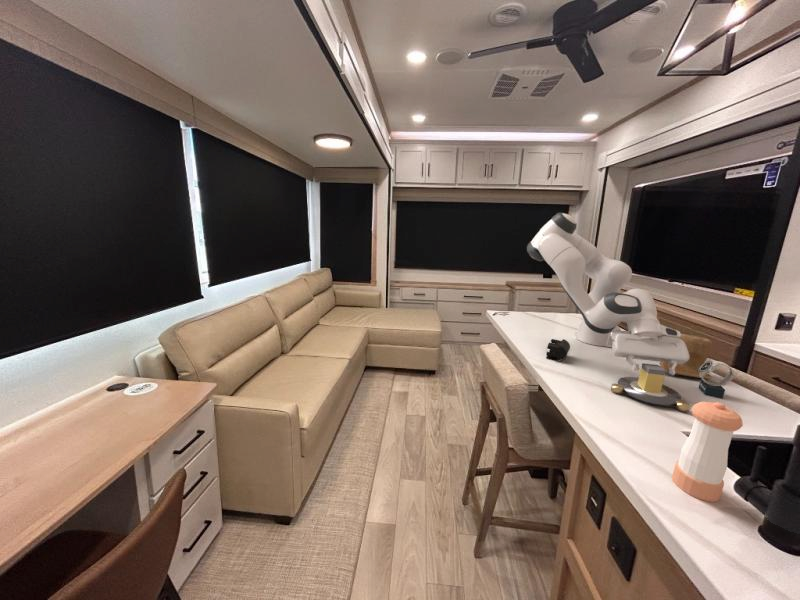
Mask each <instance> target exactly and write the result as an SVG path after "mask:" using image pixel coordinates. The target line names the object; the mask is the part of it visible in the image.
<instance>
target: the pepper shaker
mask: <svg viewBox="0 0 800 600" xmlns="http://www.w3.org/2000/svg"><path fill="white" fill-rule="evenodd" d="M691 413H692V415H693V417H694V421H693V424H692V428H691V431H690V434H689V435H688V437H687V439H686V440H685V442H684V443H683V446H682V448H681V451H680V456H679V459H678V460H677V461H676V462H675V464H674V468H673V472H672V476H671V480H672V482H673V483H674V484H675V485H676V487H678V488H679V489H680V490H682V491H683V492H685V493H686V494H688V495H690V496H692V497H694V498H695V499H699V500H701V501H704V502H705V501H706V502H709V503H710V502H718V501H719V500H720V498H721V495H722V492H723V490H724V489H723V488H724V485H725V481H724V480H723V479H724V476H725V474H726V473H727V472H726V471H727V469H728V459H729V457H728V456H729V447H730V445H731V443H732V442H731V441H732V438H733V435H734V432H736V431H738V430H740V429H741V428H742V427H743V425H744V423H743V418H742V417H741V416H740V414H739V413H738V412H736V411H735V410H733V409H731V408H730V407H729V406H728V407H727V405H725V404H724V403H721V402H717V401H715V402H713V401H699V402H697V403H695V404H693V406H692V407H691Z"/></svg>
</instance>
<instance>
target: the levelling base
mask: <svg viewBox="0 0 800 600" xmlns="http://www.w3.org/2000/svg"><path fill="white" fill-rule="evenodd" d="M638 380H639V377H638V376H637V377H636V376H635V377H634V376H624V377H620V378H618V380H617V383H611V388H610V391H611V392H613V393H614V394H615V393H616V394H619V395H620V394H621V395H623V394H624V395H626V394H627V395H626V396H629V397H632V398H634V399H636V400H639V401H642V402H644V403H648V404H651V405H654V406H660V407H661V406H663V407H671V408H673V407H674V408H675V409H676V410H678V411H681V412H684V413H689V412H690V409H691V404H690V403H688V402H686V401H684V400H682V396H681V395H680V393H679V392H678V391H676V390H674V389H673V388H671V387H670V386H667V385H665V384H664V383H663V384H662V388H661V392H660V393H656V392H649V391H644V390H643V389H642V388H641V387H640V386H639V385H638Z"/></svg>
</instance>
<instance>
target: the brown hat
mask: <svg viewBox="0 0 800 600" xmlns="http://www.w3.org/2000/svg"><path fill="white" fill-rule="evenodd" d="M680 339H681V340H683V341H684V343H685V345H686V347H687V350H688V352H689V356H690V358H689V360H688V361H687V362H685V363H684V364H677V365H676V367H675V369H674V370H675V375H679V376H683V377H684V376H685V377H690V378H696V379H697V378H698V379H702V378H701V377H700V375H699V371H698V369H699V367H700V366H701V365H702V364H703V363H705V362H707V359H708V358H709V357H710V355H711V353H712V350H713V341H712V340H710V339H708V338H705V337H701V336H696V335H691V334H685V333H681V337H680ZM659 366H660V367H661V368H663V369H664V370H665V371H666V369H668V368H670V366H671V365H670V366H669V365H668V363H667V362H659ZM710 374H711V373H709V374H706V375H705V376H704V377H703V378H704V380H711V379H712V376H711V375H710Z"/></svg>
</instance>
